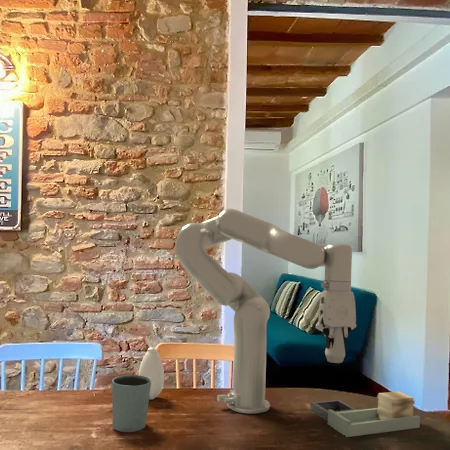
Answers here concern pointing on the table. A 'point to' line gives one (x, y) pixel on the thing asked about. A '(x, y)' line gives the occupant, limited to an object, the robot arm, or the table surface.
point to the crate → (394, 405)
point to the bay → (368, 422)
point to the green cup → (130, 402)
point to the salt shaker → (336, 347)
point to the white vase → (153, 371)
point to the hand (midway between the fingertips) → (335, 350)
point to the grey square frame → (329, 407)
